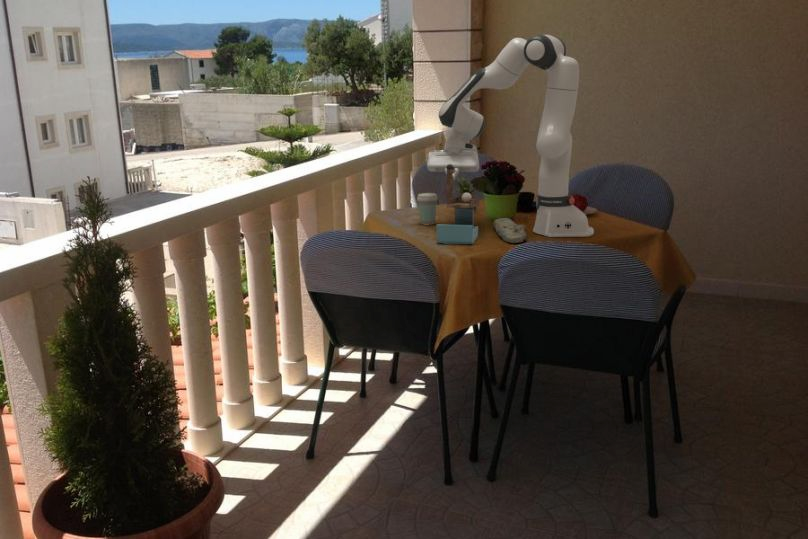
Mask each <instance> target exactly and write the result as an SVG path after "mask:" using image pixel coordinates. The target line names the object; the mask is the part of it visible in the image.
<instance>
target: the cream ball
mask: <svg viewBox="0 0 808 539" xmlns="http://www.w3.org/2000/svg"><path fill="white" fill-rule="evenodd" d="M471 195H472V193H471V194H470V192H469V193H464V194H463V195H462V201H463V202H465V203H469V200H470V199H472V196H471Z"/></svg>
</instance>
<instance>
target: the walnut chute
mask: <svg viewBox="0 0 808 539" xmlns="http://www.w3.org/2000/svg"><path fill="white" fill-rule="evenodd" d="M446 168H447V174H446V185H445V186H446V188H445V189H446V192H445V193H446V195H445V196H446V199H445V200H446V208H447V209H448V208H451V209H453V208H454V209H455V208H474V211H477V207H478V206H480V197H478V194H473V195H472V194H471V196H472V199H470V200H469V203H465V202H463V201H462V195H461V194H458V195H457V196H455V197H453V191H454V189H453V186H454V185H453V184H454V183H453V182H454V181H453V173H454V172H453V165H451V164H449V165H447V167H446Z"/></svg>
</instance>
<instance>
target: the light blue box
mask: <svg viewBox="0 0 808 539" xmlns="http://www.w3.org/2000/svg"><path fill="white" fill-rule="evenodd" d="M435 225H436V244H437V243H443V244H442V245H454V244H473V242H474V241H475V240H477V239H478V237H479V226H477V225H476V226H473V225H455V224H441V223H440V224H437V223H436V224H435ZM476 238H477V239H476ZM475 242H476V241H475ZM475 242H474V243H475ZM473 245H474V244H473Z"/></svg>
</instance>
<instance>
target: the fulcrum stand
mask: <svg viewBox="0 0 808 539" xmlns="http://www.w3.org/2000/svg"><path fill="white" fill-rule="evenodd" d="M474 214H475V213H474V208H454V225H473V226H474V225H475V224H474V216H475V215H474Z"/></svg>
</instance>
